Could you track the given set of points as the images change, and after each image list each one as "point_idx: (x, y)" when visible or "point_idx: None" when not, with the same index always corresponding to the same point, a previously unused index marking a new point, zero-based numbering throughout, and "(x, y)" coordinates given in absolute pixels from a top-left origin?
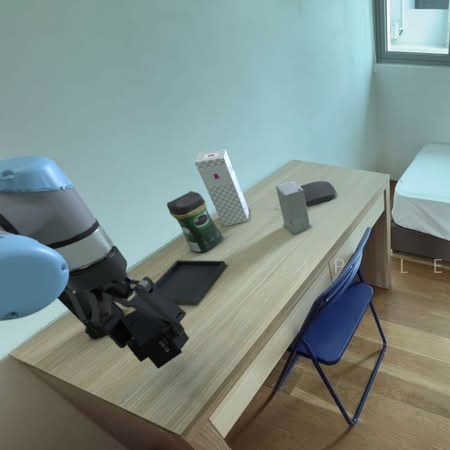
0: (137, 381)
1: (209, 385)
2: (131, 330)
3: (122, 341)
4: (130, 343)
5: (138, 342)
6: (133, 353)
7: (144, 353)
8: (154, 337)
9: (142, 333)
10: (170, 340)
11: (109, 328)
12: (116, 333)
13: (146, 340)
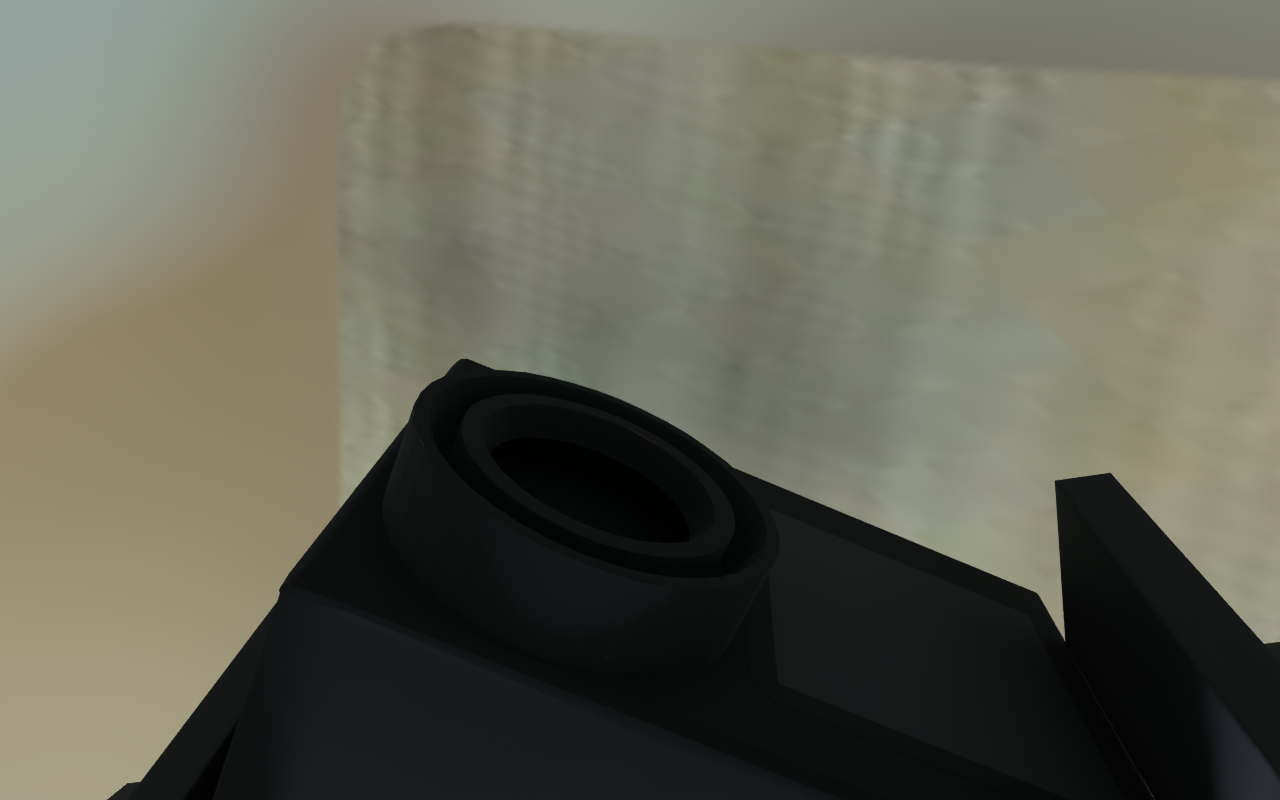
0: (1039, 247)
1: (399, 354)
2: (775, 794)
3: (1090, 562)
4: (543, 592)
5: (392, 636)
6: (423, 449)
7: (387, 483)
8: (228, 754)
9: (515, 779)
10: (222, 714)
11: (1243, 767)
12: (1160, 673)
13: (296, 689)
